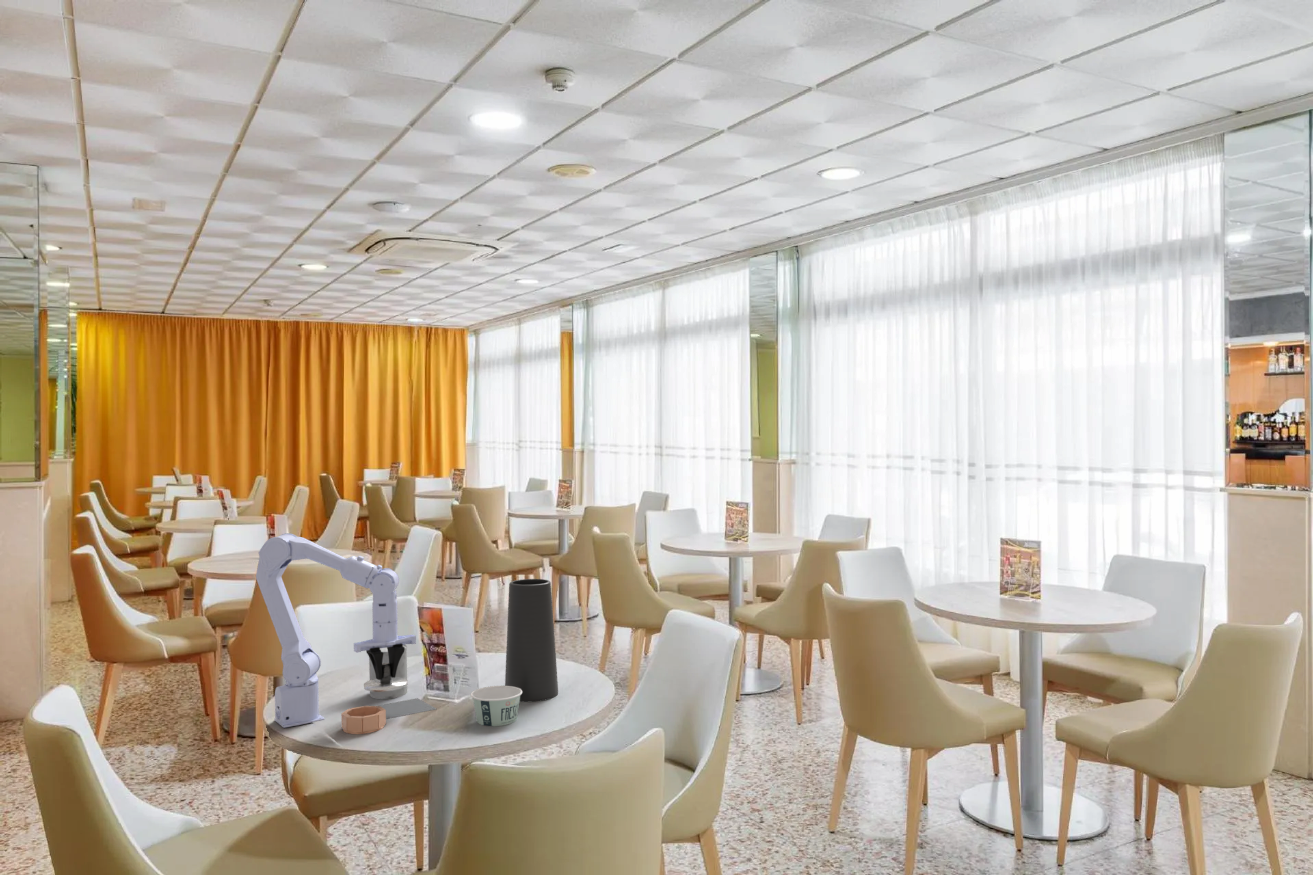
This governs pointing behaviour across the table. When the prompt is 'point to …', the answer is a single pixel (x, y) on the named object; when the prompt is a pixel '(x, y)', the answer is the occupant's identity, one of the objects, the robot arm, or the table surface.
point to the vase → (531, 640)
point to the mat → (406, 708)
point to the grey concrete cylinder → (400, 673)
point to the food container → (496, 705)
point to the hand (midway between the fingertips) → (385, 677)
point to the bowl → (363, 719)
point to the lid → (386, 681)
